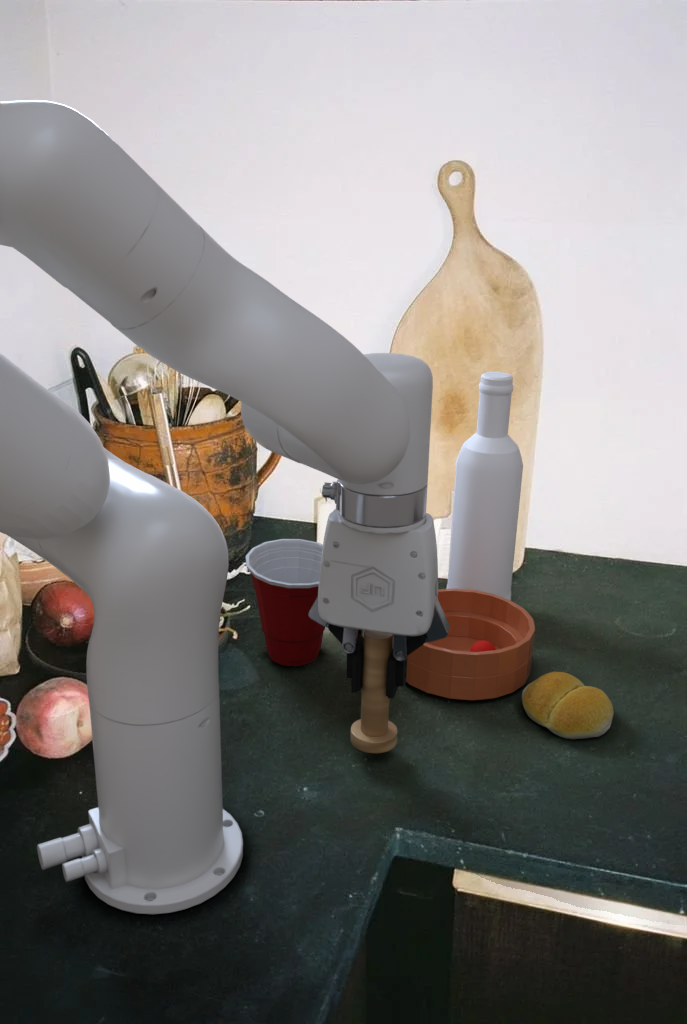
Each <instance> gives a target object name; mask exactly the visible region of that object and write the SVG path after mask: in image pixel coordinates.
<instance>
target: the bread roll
mask: <svg viewBox="0 0 687 1024" xmlns="http://www.w3.org/2000/svg"><path fill="white" fill-rule="evenodd" d="M521 702H522V707H523V710H524V711H525V714H526V715H527V716H528V717H529V719H531V720H532V721H534V723H537V724H538V725H539V726H542V727H544V728H546V729H547V730H549V731H550V732H551V733H553V734H554V735H556V736H558V737H560V738H563V739H568V740H582V739H591V738H592V739H593V738H598V737H601V736H602V735H604V734H605V733H607V732H608V730H609V729H610V728H611V725H612V722H613V718H614V707H613V703H612V701H611V700H610V697H608V695H607V693H605V692H604V691H603V690H602V689H600V688H598V687H595V686H590V685H585V684H584V683H583V682H582V681H581V680H580V679H579V678H577V677H576V676H574V675H572V674H571V673H568V672H564V671H550V672H548V673H545V674H543V675H540V676H539V677H537V678H536V679H535V680H533V681H532V682H530V683H528V684H527V685H526V687H524V689H523V690H522V694H521Z"/></svg>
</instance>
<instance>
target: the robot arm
mask: <svg viewBox="0 0 687 1024" xmlns="http://www.w3.org/2000/svg"><path fill="white" fill-rule="evenodd" d="M0 246H4V247H7V248H8V247H9V248H13V249H14V250H16V251H17V252H18V253H20V254H21V255H23V256H24V257H26V258H27V259H28V260H30V261H31V262H32V263H33V264H34V265H36V266H37V267H39V268H40V269H41V270H42V271H43V272H44V273H46V274H47V275H48V276H49V277H51V278H52V279H53V280H54V281H56V282H58V284H60V285H61V286H62V287H63V288H65V289H67V290H68V291H70V292H71V293H72V294H74V296H76V297H77V298H79V300H80V301H82V302H84V303H85V304H86V305H87V306H88V307H90V308H91V309H92V310H93V311H94V312H96V313H97V314H98V315H100V316H101V317H102V318H103V319H105V320H106V321H107V322H108V323H109V324H111V326H113V328H115V329H116V330H118V331H119V332H120V333H121V334H122V335H123V336H125V337H126V338H127V339H128V340H130V341H131V342H132V343H133V344H134V345H135V346H137V347H138V348H139V349H141V350H142V351H144V352H145V353H146V354H148V355H149V356H151V357H152V358H154V359H156V360H157V361H159V362H160V363H162V364H164V365H166V366H168V367H169V368H171V369H172V370H173V371H176V372H177V373H179V374H181V375H183V376H185V377H187V378H189V379H191V380H194V381H196V382H198V383H200V384H202V385H205V386H207V387H209V388H212V389H215V390H217V391H219V392H221V393H223V394H225V395H227V396H229V397H231V398H233V399H236V400H237V401H239V402H240V416H241V420H242V423H243V426H244V428H245V430H246V431H247V433H248V434H249V436H250V437H251V438H252V440H254V441H255V442H256V443H258V445H260V446H261V447H262V448H264V449H266V450H267V451H270V452H272V453H274V454H276V455H279V456H280V457H284V458H286V459H288V460H290V461H293V462H296V463H297V464H301V465H304V466H306V467H309V468H310V469H314V470H316V471H319V472H321V473H323V474H325V475H327V476H329V477H332V478H334V479H337V480H336V481H332V482H324V483H323V484H322V488H321V491H322V492H321V496H322V498H325V499H330V501H331V500H332V501H334V504H335V509H334V510H332V511H331V512H330V513H329V515H328V517H327V520H326V525H325V531H324V534H323V535H324V536H323V541H322V542H323V543H322V544H323V548H322V556H321V566H320V577H319V588H318V597H317V599H316V600H315V602H314V604H313V606H312V607H311V609H310V611H309V613H308V615H309V617H310V618H311V619H312V620H314V621H316V622H317V623H319V624H321V625H322V626H324V627H325V626H326V627H325V628H327V629H328V631H329V632H330V633H331V634H332V636H333V637H335V638H336V640H337V641H338V642H339V643H340V644H341V647H342V650H343V652H344V653H346V666H345V667H346V671H345V672H346V679H350V680H351V685H350V686H351V687H350V691H351V693H355V694H358V693H360V692H361V691H362V675H363V651H364V636H363V635H364V631H365V630H366V631H373V632H380V633H387V634H393V649H392V651H391V654H390V656H389V658H388V661H387V680H386V696H388V698H390V699H391V700H394V699H395V696H396V694H397V692H398V690H399V687H401V688H404V687H405V685H406V683H407V682H406V677H407V656H408V655H409V654H411V653H412V652H414V651H415V650H416V649H418V648H419V647H421V646H422V645H423V644H424V643H426V642H432V641H436V640H439V639H443V638H446V637H447V636H448V633H449V630H450V625H449V623H448V621H447V619H446V616H445V614H444V612H443V610H442V607H441V605H440V603H439V601H438V590H439V562H438V561H439V560H438V558H439V557H438V544H437V535H436V527H435V522H434V518H433V516H432V515H431V513H428V512H427V503H428V501H427V500H428V484H429V465H430V464H429V463H430V445H431V428H432V427H431V426H432V410H433V409H432V407H433V391H434V389H433V388H434V378H433V377H434V376H433V373H432V369H431V367H430V366H429V364H428V363H427V362H426V361H424V360H423V359H421V358H419V357H416V356H413V355H409V354H405V353H404V354H403V353H396V352H373V353H372V352H371V353H365V354H364V353H363V352H361V350H360V349H359V348H357V347H356V346H355V345H354V343H352V342H351V341H350V340H348V338H346V337H345V336H344V335H343V334H341V333H340V332H339V331H338V330H336V329H335V328H334V327H332V326H331V325H329V324H328V323H327V322H326V321H324V320H323V319H321V318H320V317H318V316H317V315H316V314H314V313H313V312H311V311H310V310H309V309H307V308H306V307H304V306H302V305H301V304H300V303H299V302H297V301H295V300H294V299H292V297H290V296H288V295H287V294H286V293H285V292H282V291H281V290H280V289H279V288H278V287H276V286H275V285H274V284H272V283H271V282H270V281H269V280H267V279H265V278H264V277H263V276H261V275H259V274H258V273H257V272H255V271H253V270H252V269H250V268H249V267H247V266H245V265H244V264H243V263H242V262H240V261H239V260H238V259H236V258H235V257H233V256H232V255H231V254H230V253H229V252H228V251H226V250H225V249H224V248H223V247H222V245H220V244H219V243H218V242H217V241H216V240H215V239H214V238H213V237H212V236H211V235H210V234H209V233H208V232H207V231H206V230H205V229H204V228H203V227H202V226H201V225H200V224H199V223H198V222H197V221H196V220H195V219H194V218H193V217H192V216H191V215H190V214H189V213H188V212H187V211H186V210H185V209H184V208H183V207H182V206H181V205H180V204H179V203H177V201H176V200H174V198H173V197H172V196H170V195H169V193H168V192H166V190H164V189H163V187H161V185H160V184H159V183H157V182H156V180H154V178H152V177H151V176H150V174H148V173H147V171H145V169H143V167H142V166H140V165H139V164H138V163H137V162H136V161H135V160H134V159H133V158H132V157H131V156H130V155H129V154H128V153H127V152H126V151H125V150H124V149H123V148H122V147H121V146H120V145H119V144H118V143H117V142H116V141H115V140H114V139H113V138H112V137H111V136H110V135H109V134H108V133H106V131H104V129H102V127H100V126H99V125H98V124H97V123H96V122H95V121H93V120H92V119H91V118H89V117H87V116H86V115H84V114H83V113H81V112H80V111H78V110H77V109H75V108H72V107H71V106H68V105H66V104H63V103H59V102H55V101H52V100H51V101H50V100H42V99H41V100H38V99H25V100H9V101H8V100H7V101H0ZM0 533H1V534H3V535H6V536H8V537H9V538H11V539H12V540H13V541H16V542H17V543H19V544H20V545H21V546H23V547H25V548H27V549H28V550H30V551H31V552H33V553H34V554H35V555H37V556H39V557H40V558H42V559H43V560H45V561H46V562H47V563H49V564H50V565H51V566H53V567H54V568H56V569H57V570H58V571H59V572H60V573H62V574H63V575H65V576H66V577H67V578H68V579H70V580H71V581H72V582H73V583H74V584H75V585H76V586H77V587H79V589H80V590H82V591H84V593H86V594H87V596H88V597H89V599H90V600H91V603H92V607H93V624H92V630H91V634H90V636H89V640H88V645H87V650H86V660H85V661H86V664H85V667H86V670H85V671H86V687H87V688H86V689H87V698H88V706H89V715H90V718H89V719H90V726H91V738H92V739H91V740H92V741H91V742H92V751H93V762H94V763H93V764H94V774H95V785H96V797H97V807H94V808H90V809H89V810H88V811H87V812H88V813H87V814H88V821H89V823H87V824H85V825H82V826H79V827H77V832H76V833H72V834H69V835H67V836H64V837H62V836H61V837H57V838H54V839H49V840H47V841H45V842H44V841H43V842H41V843H38V844H36V850H37V851H36V852H37V856H38V861H39V864H40V867H41V870H42V871H45V870H48V869H51V868H54V867H56V866H60V865H61V868H62V869H61V870H62V874H63V878H64V881H65V883H68V882H71V881H74V880H78V879H81V878H84V880H85V882H86V884H87V886H88V888H89V890H90V891H91V892H92V893H93V895H95V896H96V897H97V899H99V900H101V901H103V902H104V903H105V904H107V905H108V906H111V907H113V908H116V909H118V910H121V911H124V912H128V913H133V914H140V915H141V914H142V915H160V914H161V915H162V914H170V913H176V912H179V911H183V910H186V909H189V908H192V907H195V906H197V905H200V904H202V903H204V902H205V901H207V900H209V899H211V898H213V897H214V896H216V895H217V894H219V893H220V892H221V891H222V890H224V889H225V888H226V887H227V885H229V883H230V882H231V881H232V880H233V879H234V878H235V876H236V874H237V873H238V871H239V869H240V867H241V864H242V862H243V861H242V860H243V857H244V839H243V832H242V830H241V828H240V826H239V823H238V822H237V820H236V819H235V818H234V817H233V815H231V813H230V812H228V811H227V810H225V808H224V805H223V804H224V803H223V775H222V774H223V773H222V769H223V768H222V739H221V738H222V735H221V706H220V704H221V703H220V701H221V700H220V682H219V679H220V678H219V640H220V639H219V636H220V622H221V614H222V609H223V607H222V606H223V602H224V596H225V591H226V587H227V581H228V576H229V567H230V566H229V565H230V563H229V561H230V560H229V548H228V543H227V540H226V537H225V534H224V533H223V530H222V528H221V526H220V524H219V523H218V521H217V520H216V518H215V517H214V516H213V515H212V514H211V512H209V510H208V509H207V508H206V507H205V506H204V505H202V504H201V503H200V502H199V501H197V500H196V499H195V498H194V497H192V496H191V495H189V494H188V493H186V492H184V491H183V490H182V489H179V488H178V487H175V486H173V485H171V484H169V483H168V482H165V481H164V480H161V479H160V478H158V477H156V476H154V475H152V474H149V473H147V472H145V471H143V470H141V469H139V468H137V467H135V466H134V465H131V464H130V463H127V462H126V461H124V460H123V459H122V458H119V457H118V456H116V455H115V454H113V453H112V452H111V451H109V450H108V449H107V448H105V447H104V444H103V442H102V440H101V438H100V437H99V435H98V434H97V432H96V430H94V428H93V426H92V425H91V424H90V422H89V421H88V420H87V419H86V418H85V416H84V415H82V413H81V412H80V411H79V410H78V409H77V408H75V407H74V406H73V405H72V404H70V403H69V402H67V401H66V399H64V398H62V397H61V396H60V395H58V394H57V393H54V392H53V391H51V390H50V389H48V388H46V387H45V386H44V385H42V384H40V383H39V382H38V381H37V380H35V379H34V378H33V377H32V376H30V375H29V374H28V373H27V372H26V371H24V370H23V369H21V368H20V367H19V366H18V365H16V364H15V363H14V362H13V361H11V360H10V359H9V358H7V357H6V356H5V355H4V354H3V353H1V352H0ZM79 857H81V858H79Z"/></svg>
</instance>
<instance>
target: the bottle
mask: <svg viewBox="0 0 687 1024" xmlns="http://www.w3.org/2000/svg"><path fill="white" fill-rule="evenodd" d="M513 382H514V377H513V375H511V374H510V373H508V372H503V371H486V372H483V373H482V374H481V375H480V381H479V384H478V390H479V391H478V392H479V393H478V396H479V397H478V407H477V417H476V418H477V420H476V431H475V433H473V434H472V435H470V437H468V439H466V440H465V441H464V442H463V443H462V445H461V447H460V449H459V451H458V454H457V457H456V461H455V471H454V472H455V473H454V487H453V502H452V513H451V514H452V515H451V516H452V517H451V528H450V544H449V558H448V569H447V571H448V572H447V583H446V587H445V589H467V590H477V591H481V592H486V593H491V594H495V595H497V596H500V597H503V598H505V599H508V600H511V601H512V583H513V574H514V573H513V571H514V562H515V552H516V544H517V543H516V542H517V534H518V533H517V531H518V524H519V523H518V522H519V511H520V501H521V493H522V482H523V481H522V480H523V471H524V462H523V457H522V454H521V451H520V447H519V445H518V444H517V443H516V441H514V440H513V438H512V437H511V436H510V435H509V425H510V415H511V406H512V405H511V404H512V395H513V392H514V385H513Z"/></svg>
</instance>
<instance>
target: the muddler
mask: <svg viewBox="0 0 687 1024" xmlns="http://www.w3.org/2000/svg"><path fill="white" fill-rule="evenodd" d="M363 638H364V651H363V675H362V688H361V704H360V718H359V719H357V720H355V721H354V722H353V723H352V724H351V727H350V738H349V739H350V743H351V745H352V746H353V747H354V748H355V749H357V750H359V751H361V752H364V753H369V754H383V753H387V752H389V751H391V750H393V749H394V748H395V747H396V745H397V743H398V727H397V725H396V724H395V723H394V722H392V721H390V720H389V719H390V702H391V700H390V699H391V698H388V696H386V680H387V661H388V658H389V656H390V654H391V651H392V644H393V634H387V633H380V632H373V631H366V630H364V631H363Z"/></svg>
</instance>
